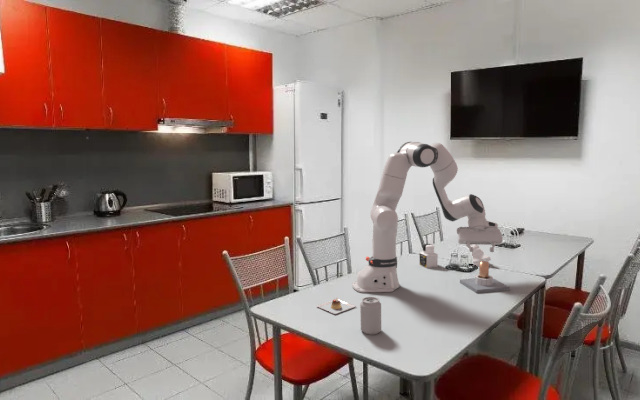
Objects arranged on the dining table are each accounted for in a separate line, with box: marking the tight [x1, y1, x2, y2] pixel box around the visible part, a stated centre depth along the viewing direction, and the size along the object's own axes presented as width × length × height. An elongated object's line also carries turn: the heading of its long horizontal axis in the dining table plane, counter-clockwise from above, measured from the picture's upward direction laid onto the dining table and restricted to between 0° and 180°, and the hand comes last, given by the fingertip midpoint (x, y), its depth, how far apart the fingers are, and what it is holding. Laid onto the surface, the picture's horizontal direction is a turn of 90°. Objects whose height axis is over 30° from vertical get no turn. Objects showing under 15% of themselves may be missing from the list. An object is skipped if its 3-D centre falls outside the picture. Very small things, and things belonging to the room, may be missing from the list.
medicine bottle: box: [419, 243, 439, 269], centre depth 231 cm, size 7×7×12 cm
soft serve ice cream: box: [470, 244, 492, 268], centre depth 233 cm, size 12×15×14 cm
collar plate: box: [459, 274, 510, 294], centre depth 196 cm, size 16×15×4 cm
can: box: [359, 296, 382, 336], centre depth 152 cm, size 8×8×12 cm
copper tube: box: [478, 261, 490, 279], centre depth 196 cm, size 4×4×10 cm
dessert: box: [316, 297, 357, 315], centre depth 176 cm, size 12×12×5 cm
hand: (481, 251), depth 200 cm, fingers open, 8 cm apart
